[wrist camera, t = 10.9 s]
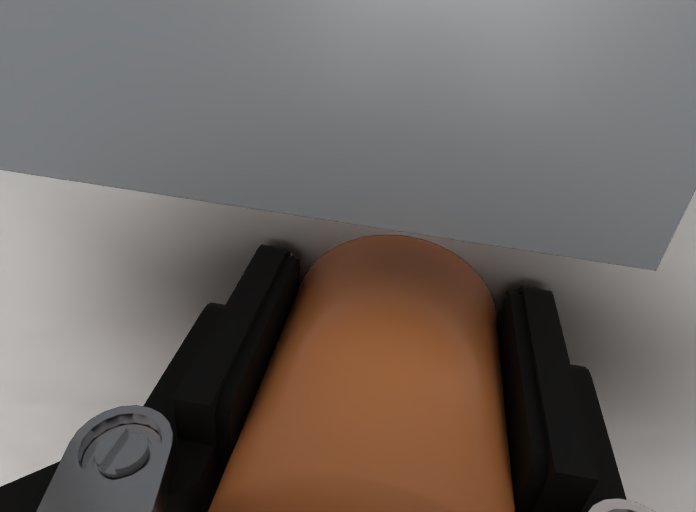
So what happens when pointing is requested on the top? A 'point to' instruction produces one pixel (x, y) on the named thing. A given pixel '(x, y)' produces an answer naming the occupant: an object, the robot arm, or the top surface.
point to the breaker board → (372, 112)
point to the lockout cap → (379, 392)
